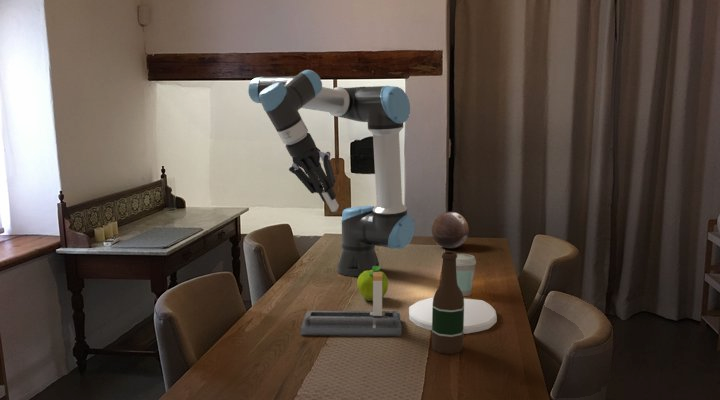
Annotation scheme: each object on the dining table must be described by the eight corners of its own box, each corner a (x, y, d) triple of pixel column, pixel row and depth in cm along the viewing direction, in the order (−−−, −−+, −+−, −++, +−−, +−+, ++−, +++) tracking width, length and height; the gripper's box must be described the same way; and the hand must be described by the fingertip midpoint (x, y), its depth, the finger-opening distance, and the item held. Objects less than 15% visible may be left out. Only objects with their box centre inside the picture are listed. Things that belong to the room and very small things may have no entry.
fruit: (391, 296, 197) (391, 265, 195) (382, 305, 188) (382, 273, 187) (363, 293, 200) (363, 262, 198) (353, 302, 191) (353, 270, 190)
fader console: (300, 335, 165) (300, 321, 164) (305, 319, 176) (305, 306, 176) (401, 336, 164) (401, 322, 163) (399, 320, 176) (399, 307, 175)
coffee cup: (475, 298, 195) (476, 260, 193) (447, 296, 197) (447, 259, 195) (475, 290, 203) (476, 253, 201) (448, 288, 205) (449, 252, 203)
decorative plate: (420, 287, 194) (503, 296, 185) (420, 300, 194) (502, 309, 186) (396, 313, 171) (489, 324, 162) (396, 328, 171) (489, 339, 163)
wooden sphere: (462, 253, 252) (463, 216, 250) (426, 249, 258) (427, 213, 256) (472, 246, 265) (473, 210, 263) (438, 242, 272) (438, 208, 269)
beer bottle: (428, 343, 159) (430, 249, 156) (459, 342, 160) (461, 248, 156) (434, 355, 152) (436, 257, 148) (467, 354, 152) (469, 256, 149)
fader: (369, 321, 168) (369, 276, 166) (369, 316, 172) (370, 272, 170) (385, 321, 168) (385, 276, 166) (384, 316, 172) (385, 272, 170)
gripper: (272, 151, 172) (312, 221, 181) (312, 137, 166) (351, 210, 175) (281, 139, 178) (320, 208, 187) (321, 125, 173) (358, 196, 182)
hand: (335, 209), depth 181 cm, fingers closed
